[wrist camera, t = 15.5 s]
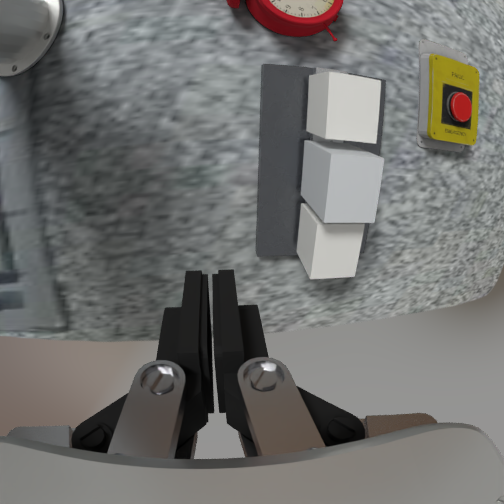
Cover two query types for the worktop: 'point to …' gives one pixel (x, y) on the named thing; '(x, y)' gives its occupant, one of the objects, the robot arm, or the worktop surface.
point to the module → (341, 181)
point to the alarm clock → (293, 15)
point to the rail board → (289, 155)
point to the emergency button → (446, 98)
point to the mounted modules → (339, 128)
